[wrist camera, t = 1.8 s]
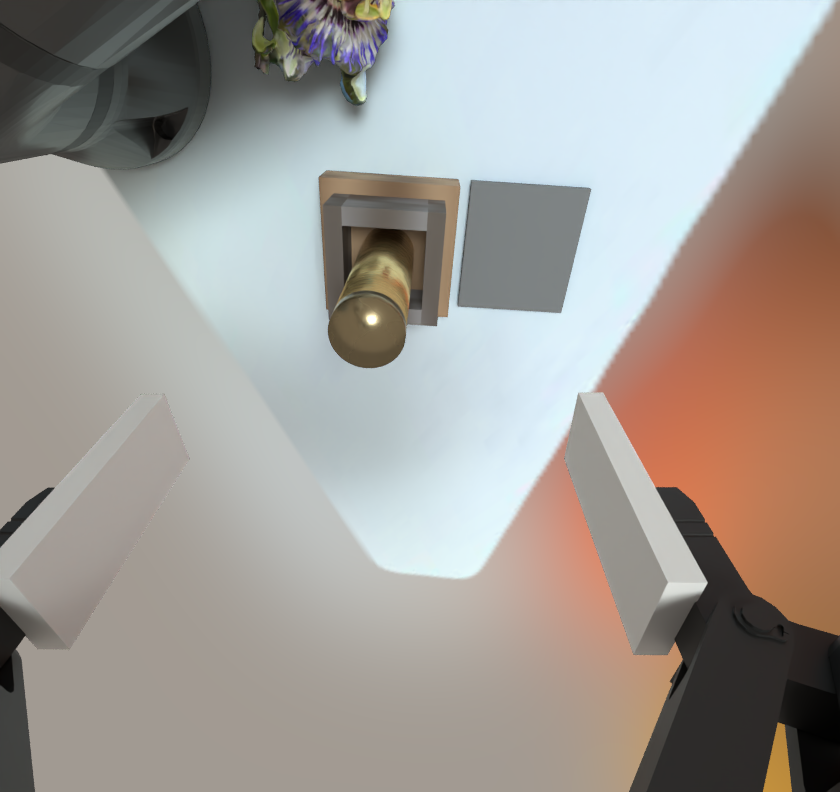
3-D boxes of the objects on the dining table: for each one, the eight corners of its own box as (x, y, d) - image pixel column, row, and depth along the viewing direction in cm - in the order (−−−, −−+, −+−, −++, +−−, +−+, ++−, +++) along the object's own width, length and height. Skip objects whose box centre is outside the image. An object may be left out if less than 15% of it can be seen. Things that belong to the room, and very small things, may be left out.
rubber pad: (457, 303, 41) (458, 306, 40) (471, 180, 35) (471, 181, 35) (559, 310, 41) (561, 312, 41) (588, 187, 35) (591, 189, 35)
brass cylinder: (362, 276, 37) (329, 365, 25) (361, 223, 34) (325, 295, 23) (413, 279, 37) (404, 370, 25) (415, 227, 34) (407, 300, 23)
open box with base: (332, 295, 41) (316, 330, 35) (326, 170, 35) (305, 187, 29) (446, 302, 41) (449, 338, 35) (458, 179, 35) (463, 197, 30)
